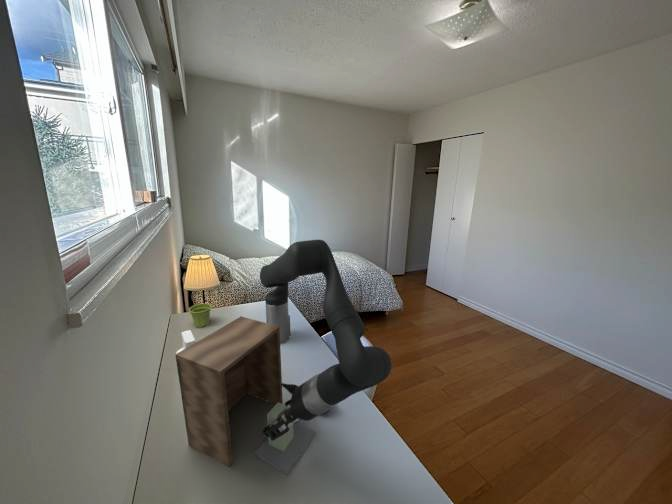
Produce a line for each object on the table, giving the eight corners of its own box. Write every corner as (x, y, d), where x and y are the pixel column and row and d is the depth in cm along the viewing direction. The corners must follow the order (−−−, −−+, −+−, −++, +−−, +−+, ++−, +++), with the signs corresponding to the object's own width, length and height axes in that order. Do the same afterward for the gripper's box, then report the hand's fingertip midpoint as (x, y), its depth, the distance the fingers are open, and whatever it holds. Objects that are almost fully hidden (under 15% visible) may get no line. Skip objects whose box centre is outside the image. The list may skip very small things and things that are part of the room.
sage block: (279, 430, 73) (278, 402, 71) (293, 436, 71) (292, 408, 69) (268, 444, 69) (267, 414, 67) (283, 451, 67) (282, 421, 65)
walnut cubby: (188, 444, 69) (175, 354, 63) (246, 390, 88) (240, 316, 81) (230, 468, 63) (220, 371, 57) (282, 404, 82) (279, 326, 76)
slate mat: (286, 418, 77) (286, 417, 77) (316, 434, 72) (316, 432, 72) (255, 454, 67) (255, 452, 67) (287, 475, 62) (287, 473, 62)
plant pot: (207, 329, 124) (205, 312, 122) (186, 329, 124) (184, 312, 122) (216, 320, 133) (214, 303, 131) (197, 319, 133) (195, 303, 131)
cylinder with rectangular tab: (175, 364, 100) (171, 334, 97) (202, 355, 105) (199, 327, 102) (179, 377, 93) (175, 346, 90) (208, 367, 98) (204, 337, 96)
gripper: (320, 364, 68) (283, 389, 75) (287, 404, 56) (247, 429, 63) (339, 388, 67) (300, 411, 75) (310, 435, 55) (267, 457, 62)
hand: (276, 419), depth 69 cm, fingers open, 8 cm apart
